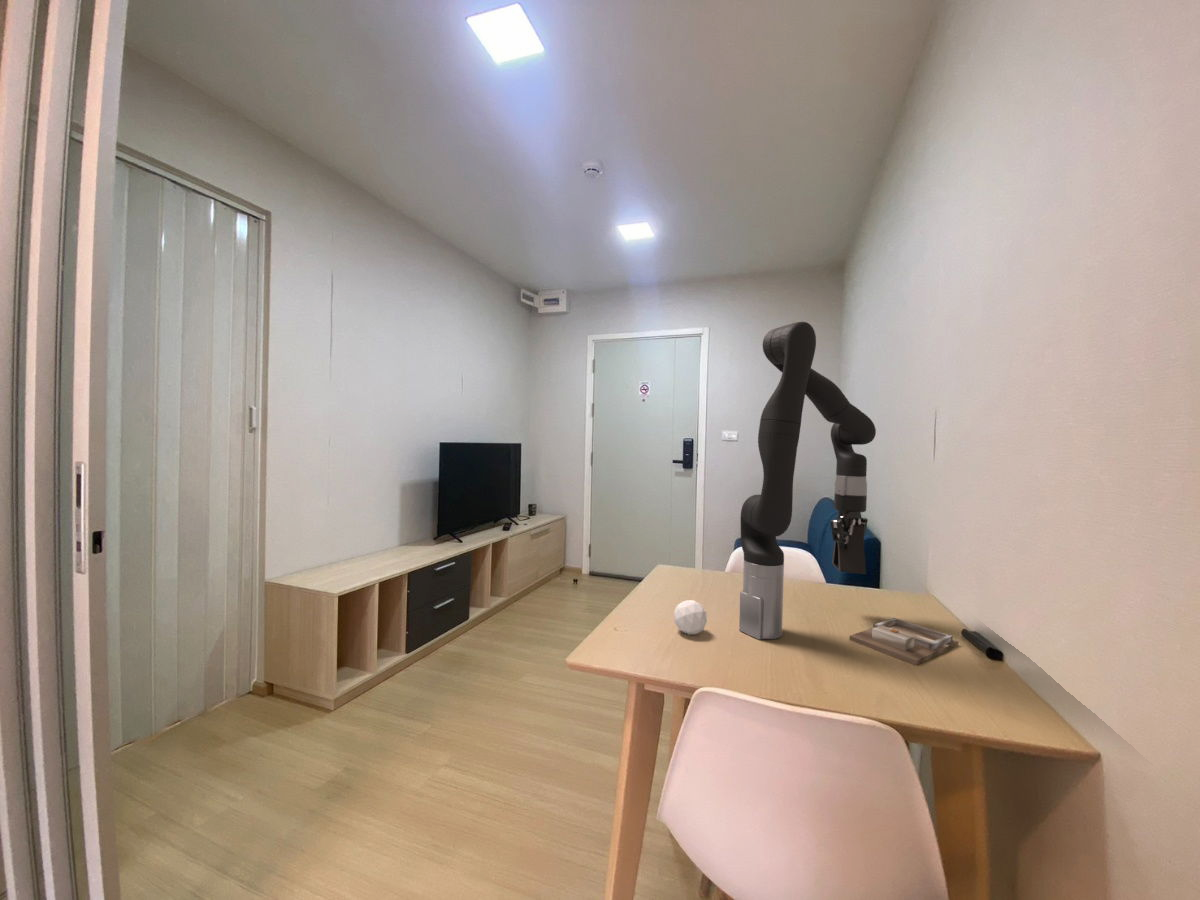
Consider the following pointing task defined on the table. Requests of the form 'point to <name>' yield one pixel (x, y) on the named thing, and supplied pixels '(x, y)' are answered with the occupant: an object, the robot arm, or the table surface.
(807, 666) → the table surface
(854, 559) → the black tent sign
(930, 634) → the mouse trap
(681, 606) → the geometric ball
